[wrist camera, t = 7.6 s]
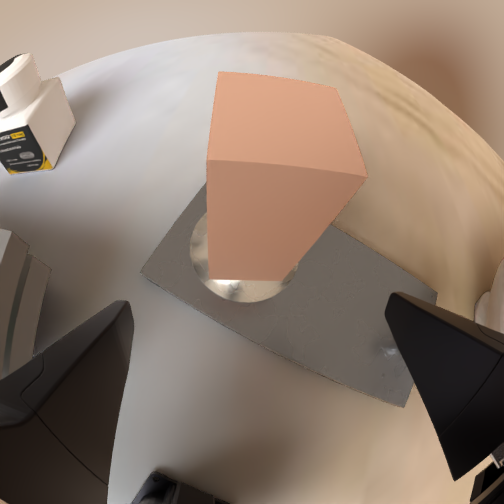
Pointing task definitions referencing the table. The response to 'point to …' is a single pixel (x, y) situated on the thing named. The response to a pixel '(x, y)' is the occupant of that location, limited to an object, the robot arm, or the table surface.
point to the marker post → (275, 173)
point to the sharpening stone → (19, 301)
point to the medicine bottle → (31, 117)
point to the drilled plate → (301, 304)
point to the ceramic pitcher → (492, 304)
